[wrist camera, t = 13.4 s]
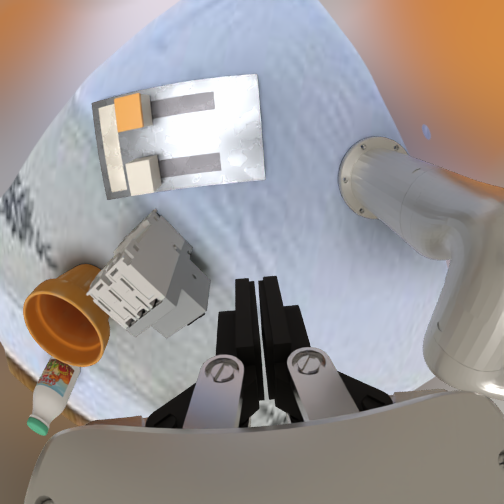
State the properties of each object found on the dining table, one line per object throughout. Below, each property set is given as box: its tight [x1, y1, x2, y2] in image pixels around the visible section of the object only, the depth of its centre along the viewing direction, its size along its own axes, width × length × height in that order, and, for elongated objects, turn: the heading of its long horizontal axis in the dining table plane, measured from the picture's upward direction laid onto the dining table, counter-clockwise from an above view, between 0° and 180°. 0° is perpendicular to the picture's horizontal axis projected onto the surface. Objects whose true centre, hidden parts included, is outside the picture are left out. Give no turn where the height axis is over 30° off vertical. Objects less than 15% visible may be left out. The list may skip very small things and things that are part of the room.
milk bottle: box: [27, 356, 80, 435], centre depth 46 cm, size 8×8×20 cm
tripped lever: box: [114, 93, 153, 132], centre depth 31 cm, size 3×4×5 cm
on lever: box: [125, 155, 162, 196], centre depth 35 cm, size 3×4×4 cm
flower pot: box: [23, 264, 110, 367], centre depth 41 cm, size 14×14×13 cm
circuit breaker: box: [86, 209, 210, 338], centre depth 38 cm, size 8×14×15 cm, turn 39°
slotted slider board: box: [92, 74, 265, 200], centre depth 36 cm, size 22×14×3 cm, turn 95°
